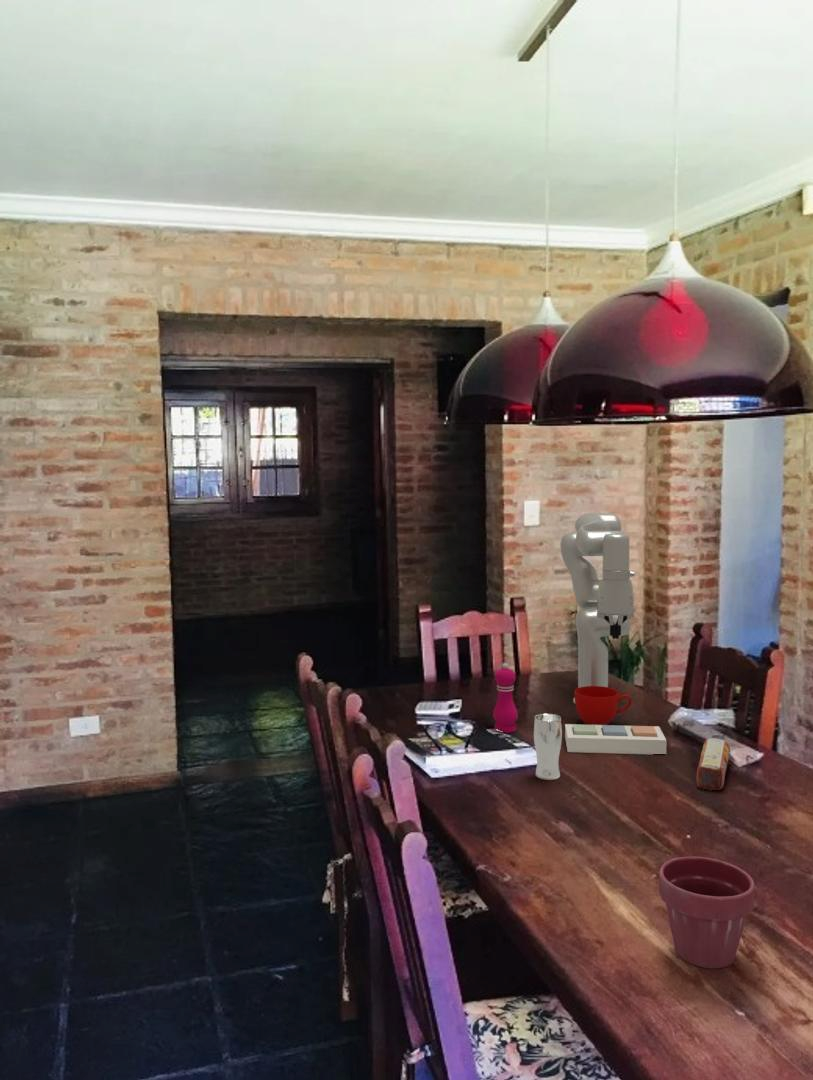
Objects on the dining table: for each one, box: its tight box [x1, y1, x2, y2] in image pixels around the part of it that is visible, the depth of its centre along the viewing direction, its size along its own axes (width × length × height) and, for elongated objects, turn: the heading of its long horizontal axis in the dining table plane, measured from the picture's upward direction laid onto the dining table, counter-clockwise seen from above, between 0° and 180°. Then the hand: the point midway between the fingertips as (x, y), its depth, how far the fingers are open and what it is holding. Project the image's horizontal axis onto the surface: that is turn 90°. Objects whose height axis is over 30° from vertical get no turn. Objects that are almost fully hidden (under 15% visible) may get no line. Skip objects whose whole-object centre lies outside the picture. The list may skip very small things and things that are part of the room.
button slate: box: [602, 724, 627, 736], centre depth 232 cm, size 6×6×2 cm
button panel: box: [564, 723, 667, 755], centre depth 232 cm, size 12×26×4 cm, turn 83°
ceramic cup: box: [574, 686, 632, 725], centre depth 252 cm, size 13×17×10 cm
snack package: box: [696, 737, 731, 791], centre depth 209 cm, size 21×7×7 cm, turn 155°
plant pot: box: [658, 856, 755, 969], centre depth 134 cm, size 14×14×13 cm
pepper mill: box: [492, 662, 519, 734], centre depth 247 cm, size 7×7×20 cm
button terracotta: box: [630, 725, 657, 737], centre depth 231 cm, size 6×6×2 cm
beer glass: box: [533, 713, 563, 781], centre depth 210 cm, size 7×7×15 cm
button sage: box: [572, 723, 597, 735], centre depth 233 cm, size 6×6×2 cm
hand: (615, 637), depth 245 cm, fingers closed
